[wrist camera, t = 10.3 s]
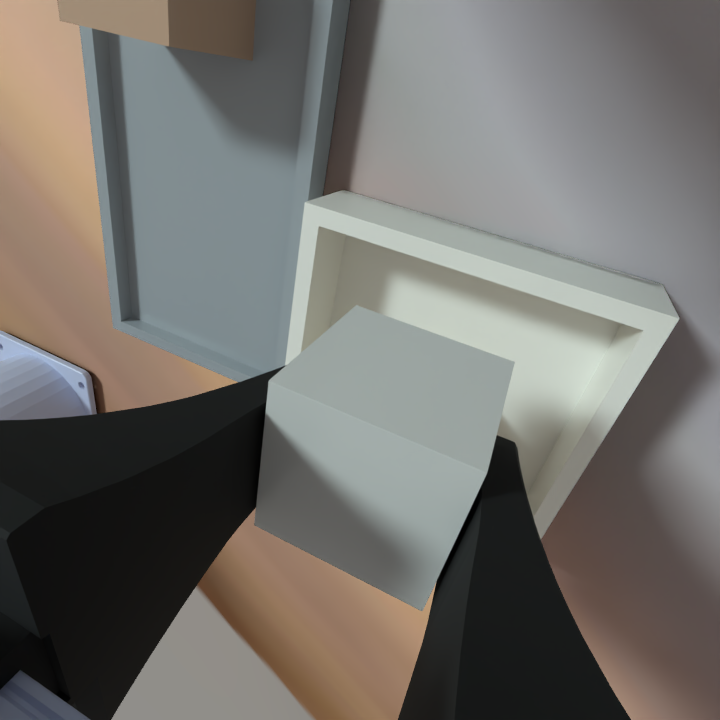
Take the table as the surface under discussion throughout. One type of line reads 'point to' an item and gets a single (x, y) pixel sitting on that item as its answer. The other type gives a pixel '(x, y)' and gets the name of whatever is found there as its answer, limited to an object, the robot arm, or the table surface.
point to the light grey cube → (379, 449)
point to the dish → (491, 321)
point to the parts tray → (213, 180)
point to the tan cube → (172, 22)
